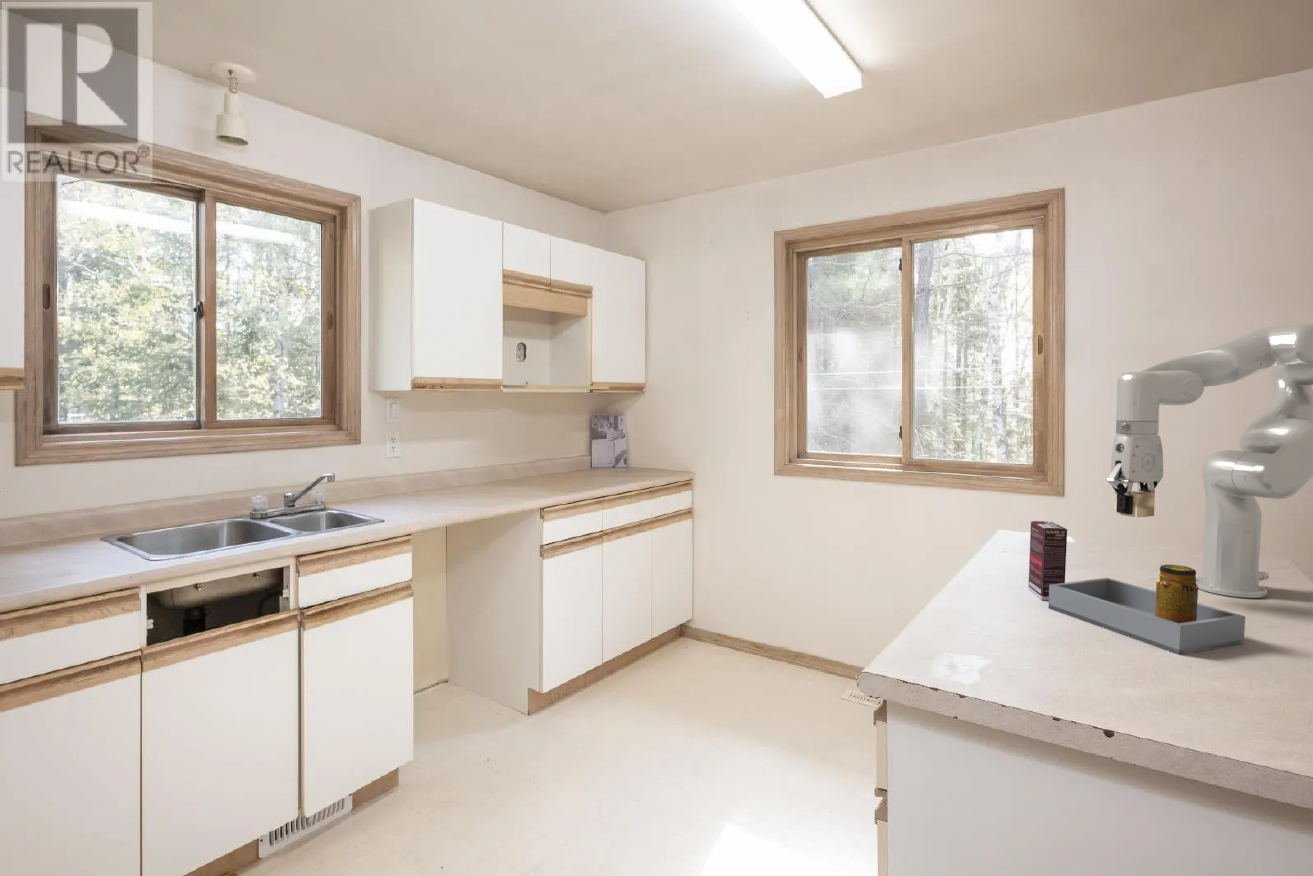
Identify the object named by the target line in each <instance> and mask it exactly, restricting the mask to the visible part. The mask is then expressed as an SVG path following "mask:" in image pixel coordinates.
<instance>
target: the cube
mask: <svg viewBox="0 0 1313 876" xmlns="http://www.w3.org/2000/svg"><path fill="white" fill-rule="evenodd" d="M1130 496H1133V509H1132V514H1124V513H1119V512H1117V511H1116V508H1117V494H1115V493H1114V515H1115V514H1116V515H1121V516H1126V517H1131V518H1145V517H1146V518H1147V517H1155V497H1156V492H1155V493H1151V492H1144V491H1139V490H1135V489H1132V491H1131V495H1130Z"/></svg>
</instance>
